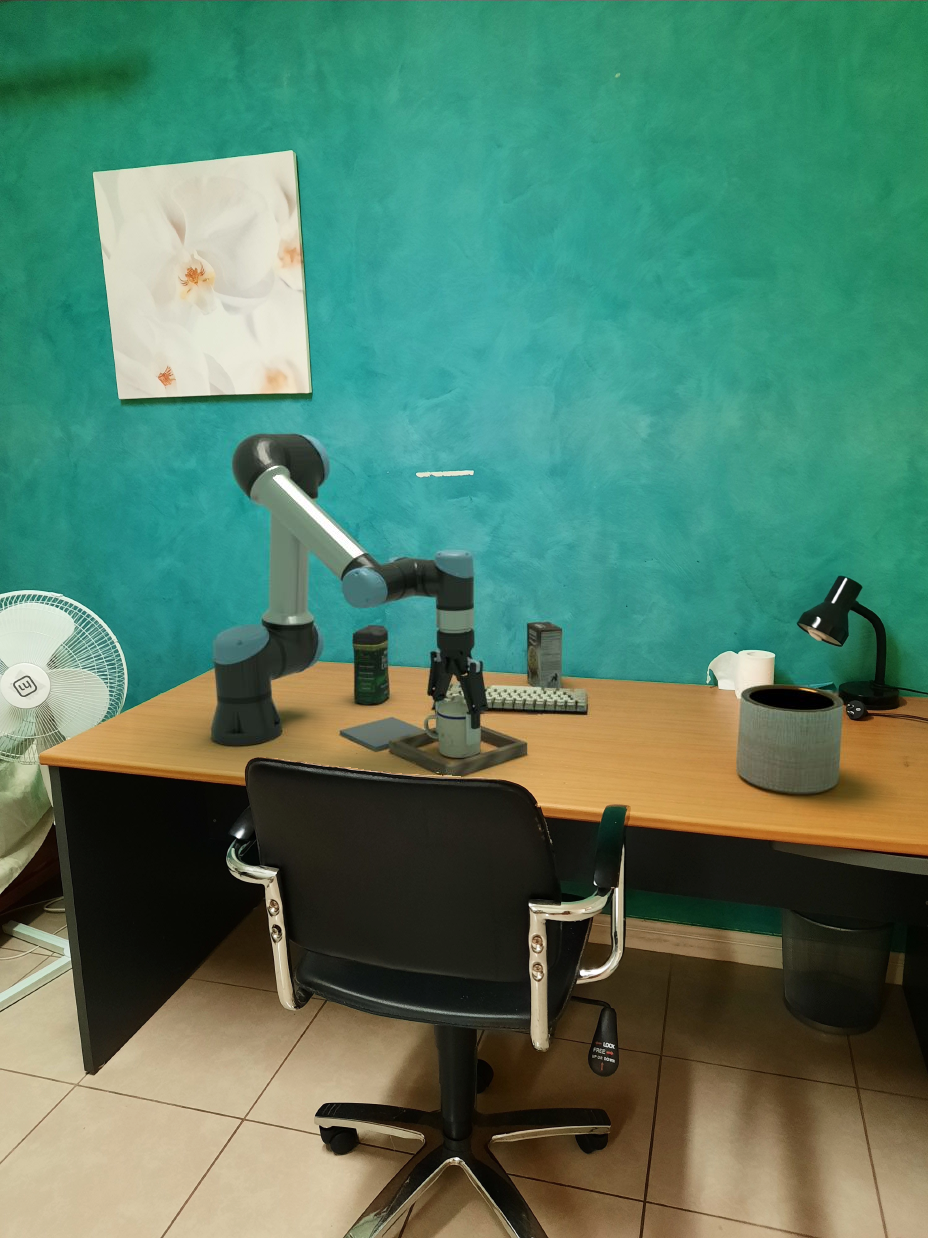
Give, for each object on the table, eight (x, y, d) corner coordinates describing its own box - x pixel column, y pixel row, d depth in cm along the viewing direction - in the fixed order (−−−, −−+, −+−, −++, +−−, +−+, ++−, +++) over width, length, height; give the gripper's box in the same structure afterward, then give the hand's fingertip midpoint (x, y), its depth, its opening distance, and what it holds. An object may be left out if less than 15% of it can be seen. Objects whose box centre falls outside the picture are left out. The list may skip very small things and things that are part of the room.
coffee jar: (380, 706, 203) (377, 631, 199) (350, 704, 205) (346, 630, 202) (394, 695, 212) (392, 623, 209) (365, 693, 214) (362, 622, 211)
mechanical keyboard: (588, 695, 212) (588, 682, 211) (588, 720, 193) (589, 706, 193) (440, 692, 217) (439, 679, 216) (426, 716, 198) (426, 702, 198)
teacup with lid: (486, 745, 175) (485, 691, 173) (476, 760, 166) (476, 704, 164) (430, 740, 178) (429, 687, 176) (418, 756, 169) (417, 700, 167)
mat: (375, 751, 173) (375, 747, 173) (339, 734, 183) (339, 730, 183) (429, 736, 182) (429, 731, 182) (392, 721, 192) (392, 716, 192)
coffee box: (525, 682, 222) (525, 622, 219) (548, 680, 224) (548, 620, 221) (539, 691, 214) (539, 629, 210) (562, 689, 215) (563, 627, 212)
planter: (723, 784, 154) (727, 702, 151) (750, 754, 168) (754, 679, 165) (827, 805, 144) (833, 718, 141) (846, 772, 158) (852, 692, 155)
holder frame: (450, 779, 158) (450, 767, 157) (389, 751, 173) (388, 740, 172) (527, 754, 170) (527, 742, 170) (464, 730, 185) (463, 719, 185)
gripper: (506, 634, 160) (507, 746, 165) (436, 618, 177) (438, 720, 181) (476, 640, 156) (478, 755, 160) (407, 623, 172) (410, 728, 177)
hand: (457, 737), depth 171 cm, fingers closed on teacup with lid, 9 cm apart
